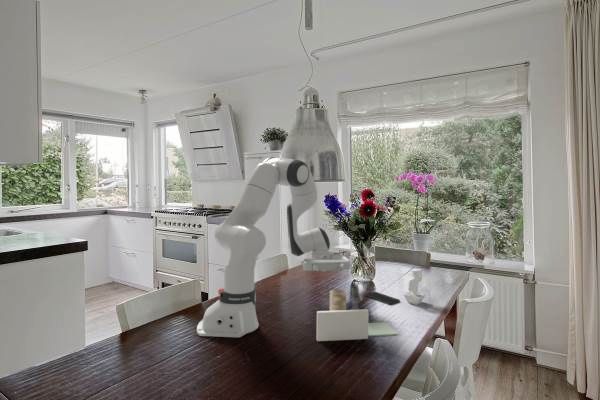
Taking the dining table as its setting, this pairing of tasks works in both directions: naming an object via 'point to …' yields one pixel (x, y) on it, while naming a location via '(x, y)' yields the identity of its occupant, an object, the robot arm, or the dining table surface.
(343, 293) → the marked block
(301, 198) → the robot arm
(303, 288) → the dining table surface
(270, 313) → the dining table surface
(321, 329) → the upright white panel
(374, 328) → the pad
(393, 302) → the phone
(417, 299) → the figurine
